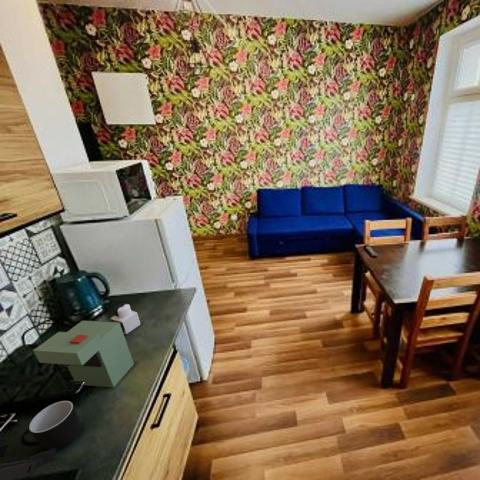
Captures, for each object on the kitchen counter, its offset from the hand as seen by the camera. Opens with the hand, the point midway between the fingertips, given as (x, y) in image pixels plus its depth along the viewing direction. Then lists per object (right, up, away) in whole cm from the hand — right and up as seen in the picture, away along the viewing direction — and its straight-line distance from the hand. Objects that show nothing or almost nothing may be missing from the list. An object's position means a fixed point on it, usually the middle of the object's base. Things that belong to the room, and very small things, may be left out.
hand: (28, 452), depth 69 cm
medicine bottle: (-12, +15, +52) cm, 55 cm away
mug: (0, -3, +8) cm, 8 cm away
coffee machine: (-3, +5, +26) cm, 27 cm away
